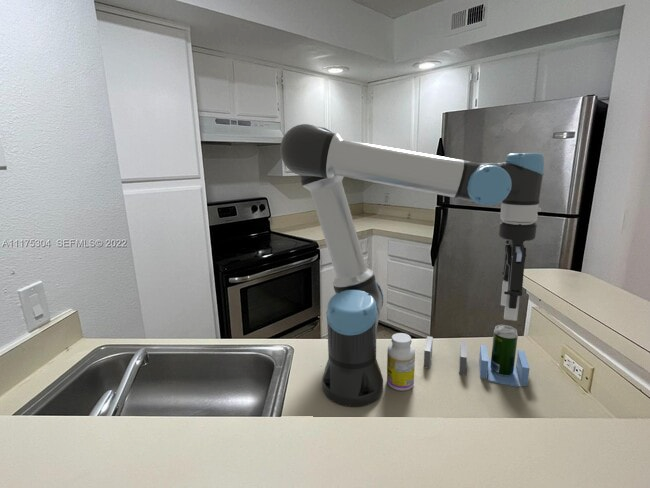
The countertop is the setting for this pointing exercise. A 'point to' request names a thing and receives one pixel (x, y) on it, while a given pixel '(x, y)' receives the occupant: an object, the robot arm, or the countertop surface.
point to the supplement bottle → (400, 362)
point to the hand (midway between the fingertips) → (508, 312)
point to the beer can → (504, 350)
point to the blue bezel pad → (495, 378)
